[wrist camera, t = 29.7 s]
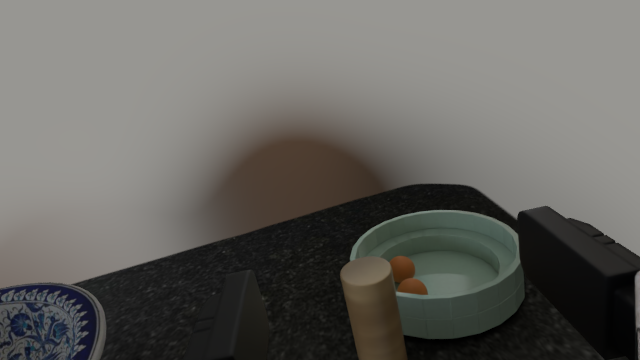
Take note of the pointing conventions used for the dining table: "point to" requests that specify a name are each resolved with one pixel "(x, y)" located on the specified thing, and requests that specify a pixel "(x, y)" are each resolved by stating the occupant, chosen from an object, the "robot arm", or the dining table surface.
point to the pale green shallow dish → (451, 270)
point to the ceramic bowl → (50, 323)
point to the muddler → (373, 309)
